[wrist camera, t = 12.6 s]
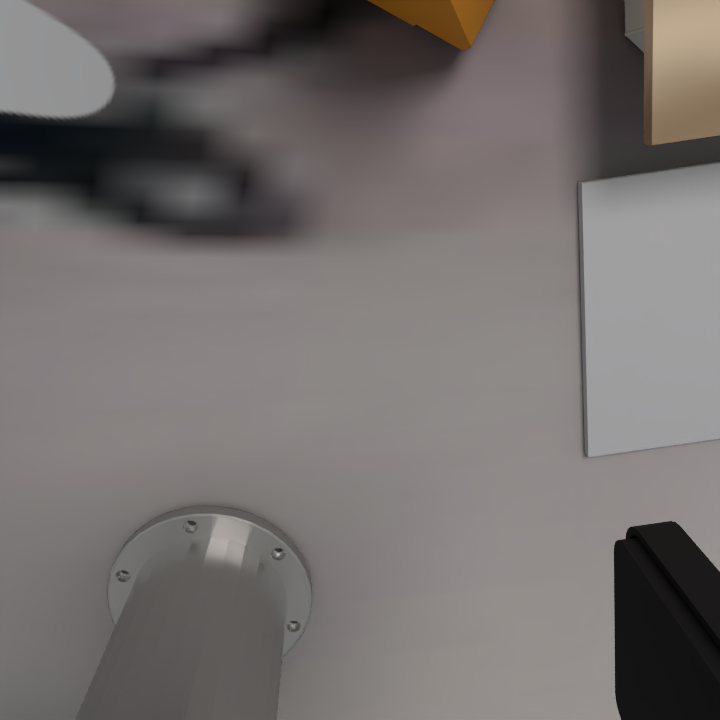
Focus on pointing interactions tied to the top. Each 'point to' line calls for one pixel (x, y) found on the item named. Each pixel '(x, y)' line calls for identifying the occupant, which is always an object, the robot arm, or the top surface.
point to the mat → (650, 308)
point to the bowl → (635, 22)
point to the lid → (681, 70)
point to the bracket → (442, 17)
